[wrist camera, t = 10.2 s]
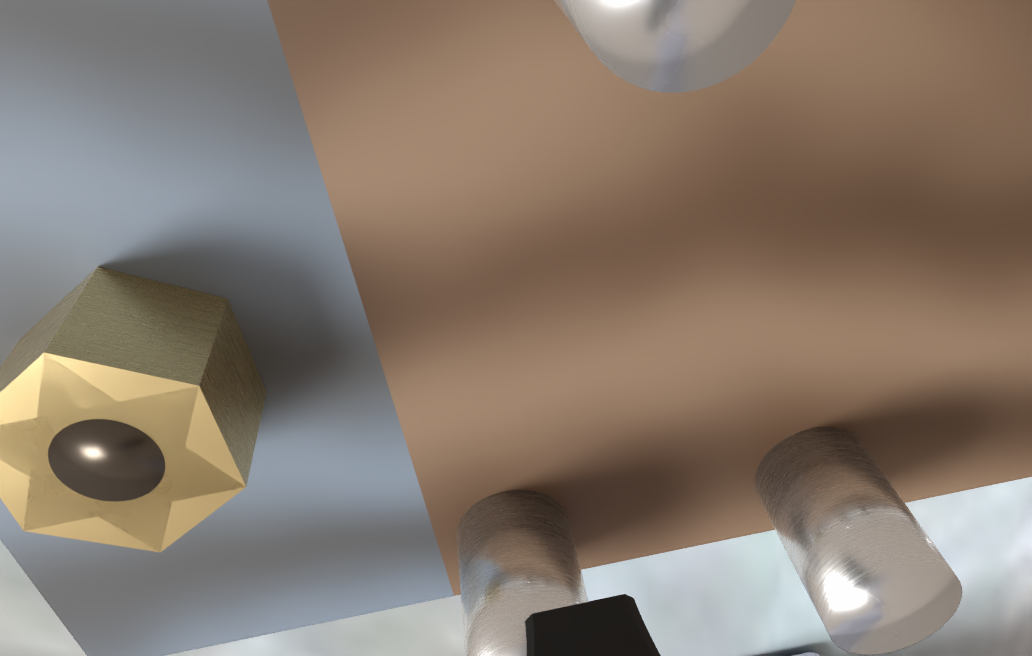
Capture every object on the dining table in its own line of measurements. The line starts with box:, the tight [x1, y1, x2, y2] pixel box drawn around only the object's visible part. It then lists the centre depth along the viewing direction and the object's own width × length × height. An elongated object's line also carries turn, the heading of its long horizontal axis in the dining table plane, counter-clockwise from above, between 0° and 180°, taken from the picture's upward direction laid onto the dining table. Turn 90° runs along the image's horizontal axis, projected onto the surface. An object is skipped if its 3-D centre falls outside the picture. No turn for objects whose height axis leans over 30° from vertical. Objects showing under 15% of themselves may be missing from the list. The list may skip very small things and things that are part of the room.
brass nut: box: [0, 267, 267, 552], centre depth 16 cm, size 5×4×3 cm
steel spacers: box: [456, 0, 962, 656], centre depth 16 cm, size 17×19×4 cm
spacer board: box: [0, 0, 1032, 656], centre depth 18 cm, size 18×30×1 cm, turn 99°
